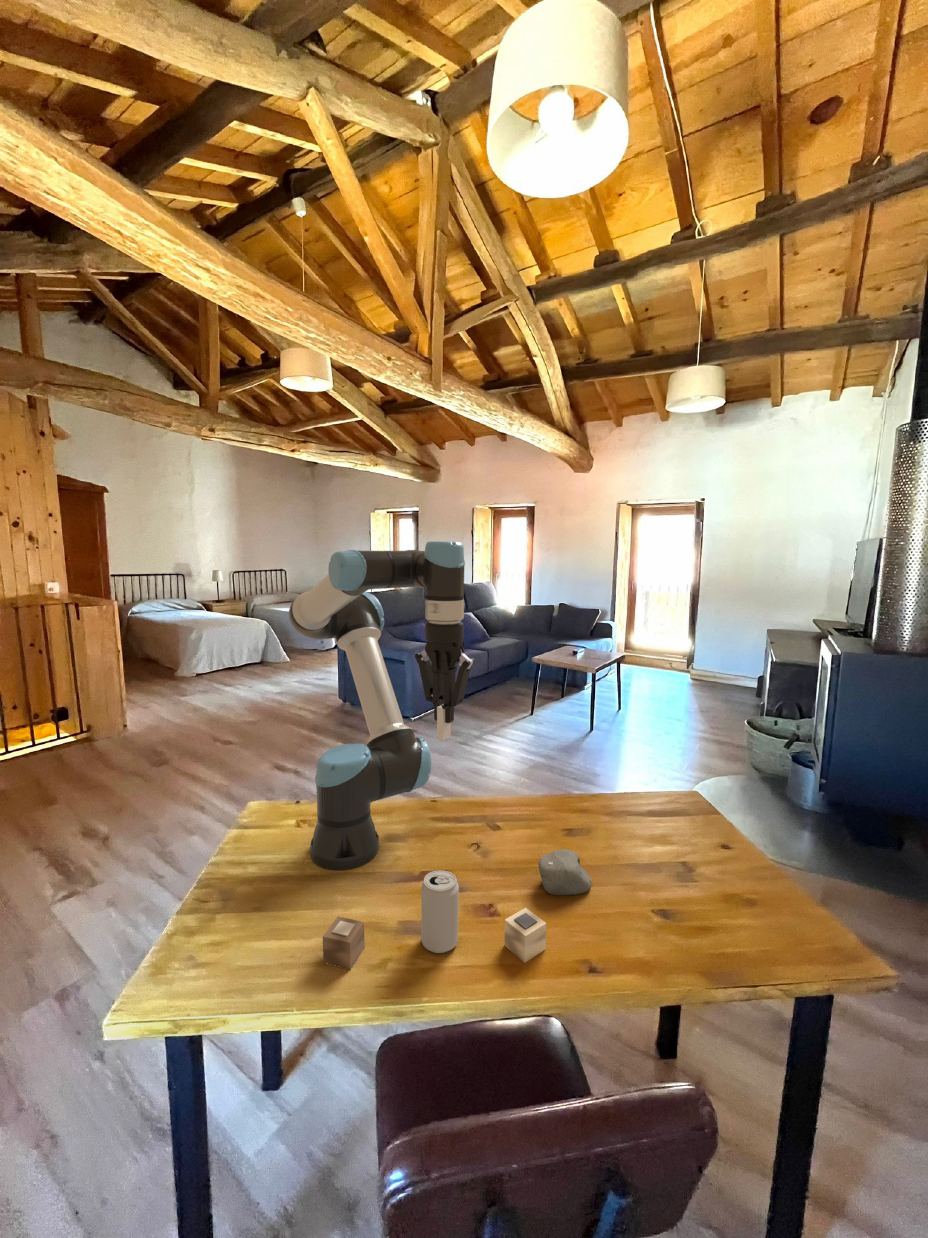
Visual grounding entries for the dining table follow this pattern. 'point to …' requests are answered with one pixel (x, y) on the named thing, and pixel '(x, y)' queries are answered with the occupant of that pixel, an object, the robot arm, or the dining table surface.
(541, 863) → the stone
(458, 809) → the dining table surface
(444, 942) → the beverage can
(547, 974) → the dining table surface
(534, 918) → the beech block
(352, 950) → the walnut block
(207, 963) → the dining table surface
